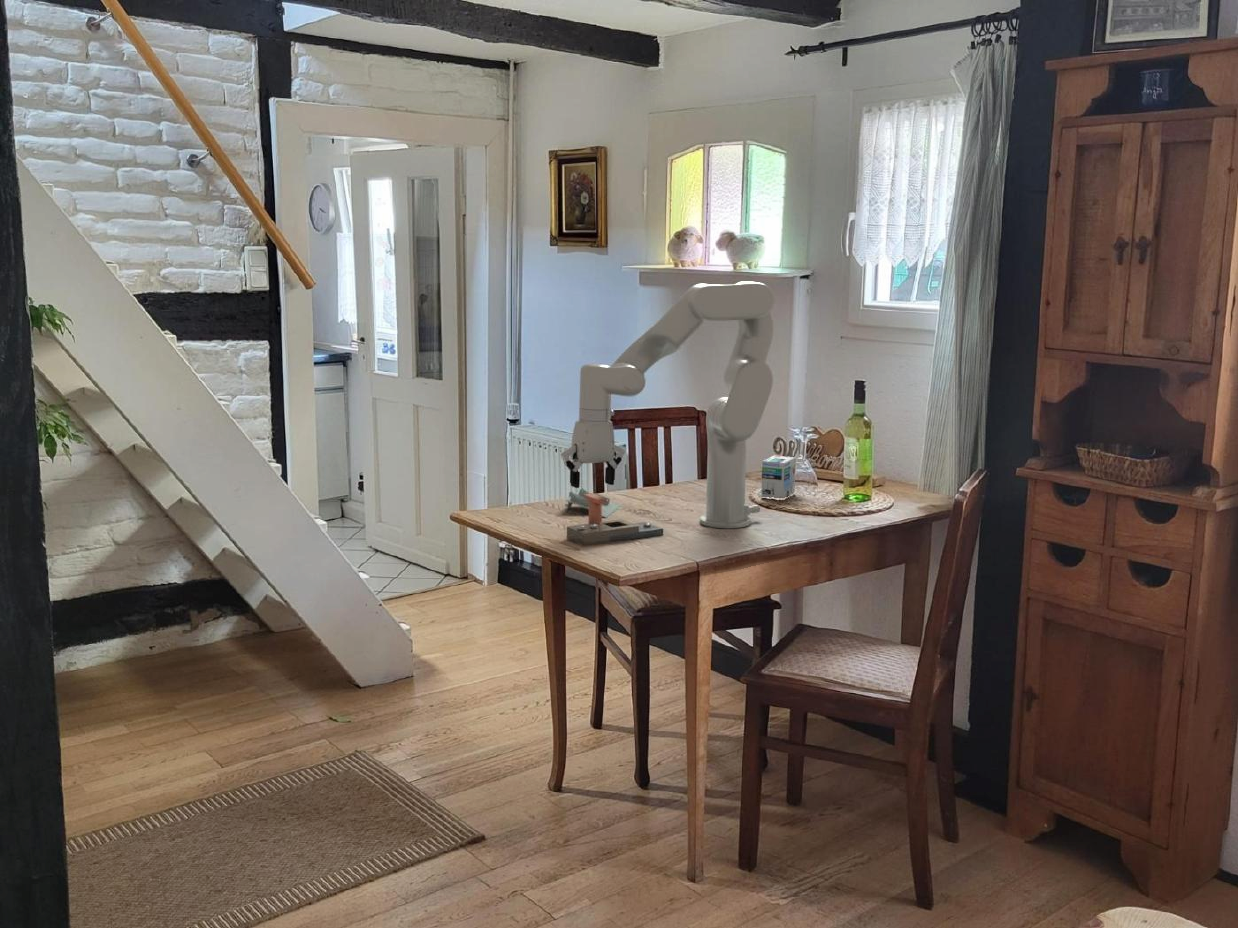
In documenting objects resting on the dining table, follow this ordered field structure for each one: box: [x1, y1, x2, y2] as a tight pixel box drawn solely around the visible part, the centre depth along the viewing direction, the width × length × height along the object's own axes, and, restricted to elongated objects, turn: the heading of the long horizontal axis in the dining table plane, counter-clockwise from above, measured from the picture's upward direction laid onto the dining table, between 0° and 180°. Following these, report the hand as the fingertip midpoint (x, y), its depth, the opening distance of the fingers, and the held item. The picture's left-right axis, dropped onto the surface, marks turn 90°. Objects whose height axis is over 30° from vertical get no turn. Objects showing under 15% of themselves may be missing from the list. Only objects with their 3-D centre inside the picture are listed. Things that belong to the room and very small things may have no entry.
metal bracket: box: [564, 487, 623, 519], centre depth 297 cm, size 14×6×15 cm
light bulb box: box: [760, 454, 797, 498], centre depth 315 cm, size 11×7×11 cm, turn 154°
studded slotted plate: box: [566, 518, 664, 547], centre depth 269 cm, size 22×8×4 cm, turn 122°
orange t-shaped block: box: [584, 494, 608, 524], centre depth 277 cm, size 3×7×8 cm, turn 32°
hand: (592, 485), depth 275 cm, fingers open, 9 cm apart
